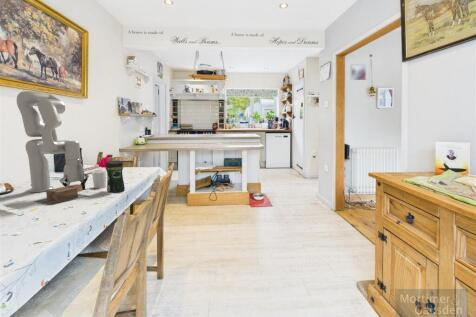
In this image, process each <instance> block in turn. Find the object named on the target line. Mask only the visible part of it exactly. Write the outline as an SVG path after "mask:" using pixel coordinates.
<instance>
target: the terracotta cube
mask: <svg viewBox="0 0 476 317" xmlns="http://www.w3.org/2000/svg"><path fill="white" fill-rule="evenodd" d="M69 187H72V188H77V192H78V193H79V192H82V191H83V190H82V185H80V184H79V183H76V184H72V185H71V184H70V185H69Z"/></svg>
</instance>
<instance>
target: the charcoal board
mask: <svg viewBox="0 0 476 317" xmlns="http://www.w3.org/2000/svg"><path fill="white" fill-rule="evenodd" d="M87 197H89V195H88V194H87V195H86V194H81V193H78V198H73V199H69V200H65V201H61V202H56V201H51V200H47V198H44V199H43V198H42V199H39V200H34V201H33V203H38V204H42V205H49V206H54V205H55V206H56V205H59V204H63V203H67V202H72V201H74V200H80V199H83V198H87Z"/></svg>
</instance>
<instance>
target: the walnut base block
mask: <svg viewBox="0 0 476 317" xmlns="http://www.w3.org/2000/svg"><path fill="white" fill-rule="evenodd" d="M45 193H46V199H47V200H51V201H56V202H61V201H65V200H69V199H73V198H78V194H79V191H78V192H77V188H72V187H65V186H62V187H57V188H54V189H50V190H46V191H45Z"/></svg>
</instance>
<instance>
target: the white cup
mask: <svg viewBox="0 0 476 317" xmlns="http://www.w3.org/2000/svg"><path fill="white" fill-rule="evenodd" d="M91 175H92V181H93V182H92V183H93V187H94V188H95V189H101V188H105V187H107V180H106V179H107V171H106V170H97V171H96V170H95V171H92V172H91Z"/></svg>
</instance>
